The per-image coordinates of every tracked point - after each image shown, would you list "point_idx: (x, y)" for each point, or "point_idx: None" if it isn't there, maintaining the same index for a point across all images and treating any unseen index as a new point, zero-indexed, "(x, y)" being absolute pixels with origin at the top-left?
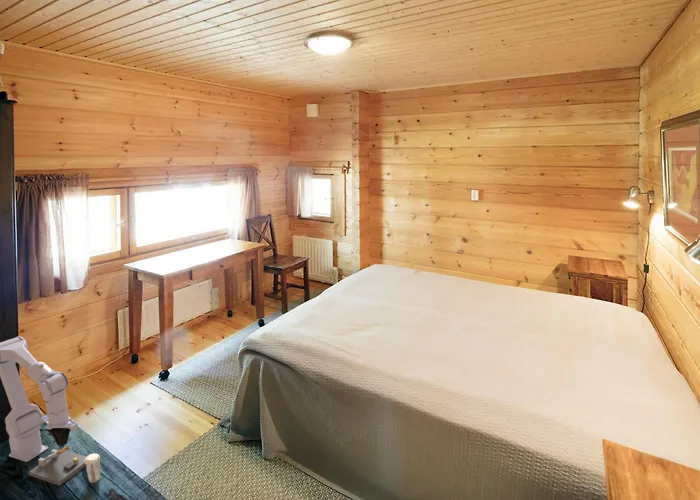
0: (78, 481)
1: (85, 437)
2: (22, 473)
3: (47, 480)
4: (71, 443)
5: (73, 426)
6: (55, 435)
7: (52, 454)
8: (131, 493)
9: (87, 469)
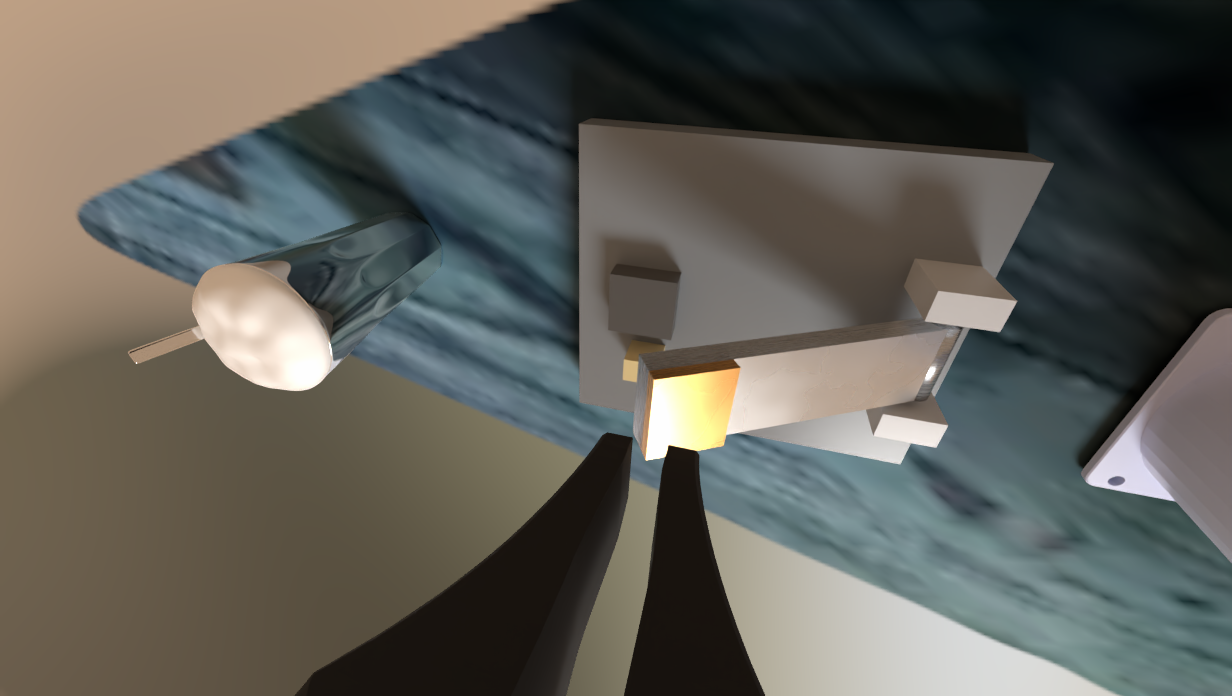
0: (494, 202)
1: (831, 562)
2: (1153, 158)
3: (743, 132)
4: (896, 518)
5: None
6: (639, 625)
7: (868, 377)
8: (123, 193)
9: (305, 245)
